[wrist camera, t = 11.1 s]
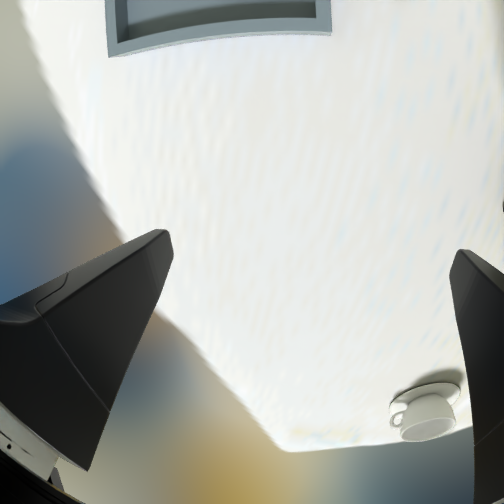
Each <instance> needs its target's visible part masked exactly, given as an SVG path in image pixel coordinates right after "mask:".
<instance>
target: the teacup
mask: <svg viewBox="0 0 504 504" xmlns="http://www.w3.org/2000/svg"><path fill="white" fill-rule="evenodd" d="M459 396H460V389H459V387H457V386H456V385H454V384H451V383H433V384H428V385H424V386H420V387H417V388H415V389H412V390H410V391H408V392H406V393H404V394H402V395H400V396H399V397H397V398H396V399H395V400H394V401H393V402H392V403H391V405H390V407H389V413H390V414H391V415H392V417H391V419H390V427H391V428H392V429H394V430H398V429H400V438H401V439H402V440H404V441H408V442H420V441H426V440H430V439H433V438H436V437H439V436H441V435H443V434H445V433H447V432H448V431H450V430H451V429H452V428H453V427H454V426H455V424H456V419H455V416H454V413H453V410H452V407H451V406H452V405H453V404H454V403H455V402H456V401H457V399H458V398H459ZM394 418H398V419H402V420H401V423H400V424H398V425H395V424H394V423H393V420H394Z"/></svg>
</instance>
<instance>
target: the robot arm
mask: <svg viewBox="0 0 504 504" xmlns="http://www.w3.org/2000/svg"><path fill="white" fill-rule="evenodd" d="M503 212H504V208H503ZM173 255H174V253H173V247H172V243H171V238H170V234H169V232H168V231H167V230H165V229H155V230H153V231H150V232H148V233H146V234H144V235H142V236H140V237H138V238H135V239H133V240H131V241H129V242H127V243H125V244H123V245H121V246H119V247H117V248H115V249H112V250H110V251H108V252H106V253H105V254H102V255H100V256H98V257H97V258H94V259H92V260H90V261H88V262H86V263H84V264H82V265H80V266H78V267H76V268H74V269H72V270H71V271H69V273H68V272H67V273H65V274H63V275H61V276H59V277H57V278H55V279H53V280H51V281H49V282H47V283H45V284H43V285H41V286H39V287H37V288H35V289H33V290H31V291H29V292H27V293H24V294H22V295H20V296H18V297H16V298H14V299H12V300H10V301H8V302H6V303H4V304H1V305H0V504H85V503H83V502H81V501H79V500H77V499H76V498H74V497H72V496H71V495H69V494H67V493H65V492H64V489H63V486H62V483H61V480H60V477H59V473H58V470H57V468H55V467H54V466H55V464H56V462H57V459H58V457H60V458H62V459H64V460H66V461H67V462H69V463H71V464H73V465H75V466H77V467H79V468H81V469H82V470H84V471H88V470H89V468H90V466H91V462H92V460H93V457H94V454H95V451H96V449H97V445H98V443H99V440H100V437H101V435H102V432H103V430H104V427H105V424H106V422H107V419H108V417H109V414H110V411H111V408H112V406H113V403H114V401H115V398H116V396H117V393H118V391H119V389H120V386H121V384H122V381H123V378H124V376H125V374H126V372H127V369H128V367H129V365H130V362H131V360H132V358H133V355H134V353H135V350H136V348H137V346H138V344H139V341H140V339H141V337H142V335H143V332H144V330H145V328H146V326H147V324H148V321H149V319H150V317H151V315H152V313H153V310H154V308H155V306H156V304H157V302H158V299H159V297H160V295H161V292H162V289H163V286H164V283H165V280H166V277H167V275H168V272H169V269H170V266H171V263H172V260H173ZM449 278H450V284H451V290H452V296H453V303H454V310H455V316H456V321H457V326H458V331H459V335H460V340H461V345H462V350H463V355H464V361H465V366H466V372H467V379H468V386H469V393H470V401H471V411H472V421H473V435H474V445H475V446H474V474H475V475H474V502H473V504H500V503H503V502H504V274H503V273H502V272H500V271H499V270H498V269H496V268H495V267H493V266H492V265H491V264H489V263H488V262H487V261H485V260H484V259H482V258H481V257H479V256H478V255H477V254H475V253H474V252H472V251H471V250H466V249H459V250H458V251H457V253H456V255H455V258H454V261H453V264H452V267H451V270H450V274H449Z"/></svg>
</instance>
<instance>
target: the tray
mask: <svg viewBox="0 0 504 504" xmlns="http://www.w3.org/2000/svg"><path fill="white" fill-rule="evenodd" d="M105 18H106V34H107V47H108V58H110V57H121V56H128V55H132V54H136V53H140V52H144V51H148V50H153V49H158V48H163V47H168V46H173V45H179V44H184V43H191V42H197V41H204V40H212V39H221V38H231V37H242V36H258V35H328V36H331V33H332V18H331V0H105Z"/></svg>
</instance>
